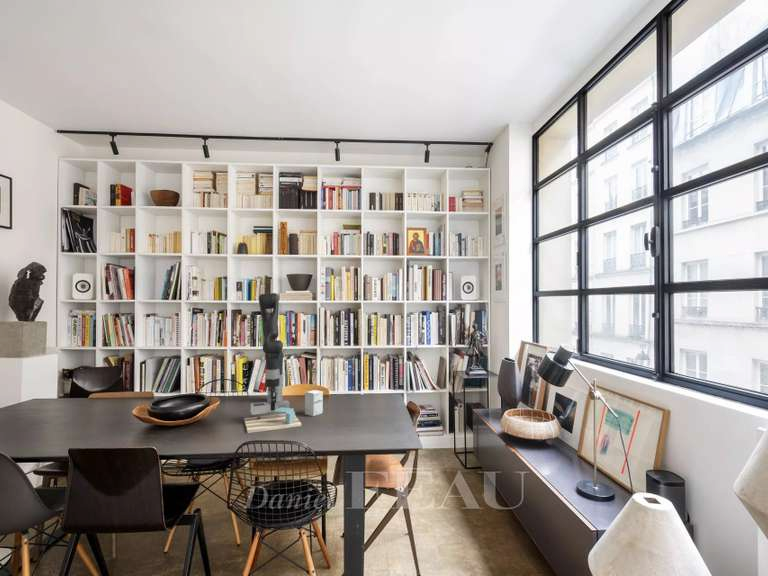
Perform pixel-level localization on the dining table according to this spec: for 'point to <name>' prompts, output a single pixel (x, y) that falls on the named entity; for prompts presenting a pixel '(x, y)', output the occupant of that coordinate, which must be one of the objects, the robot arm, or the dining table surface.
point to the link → (267, 407)
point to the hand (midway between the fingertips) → (272, 409)
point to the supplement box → (313, 402)
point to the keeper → (287, 414)
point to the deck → (269, 423)
